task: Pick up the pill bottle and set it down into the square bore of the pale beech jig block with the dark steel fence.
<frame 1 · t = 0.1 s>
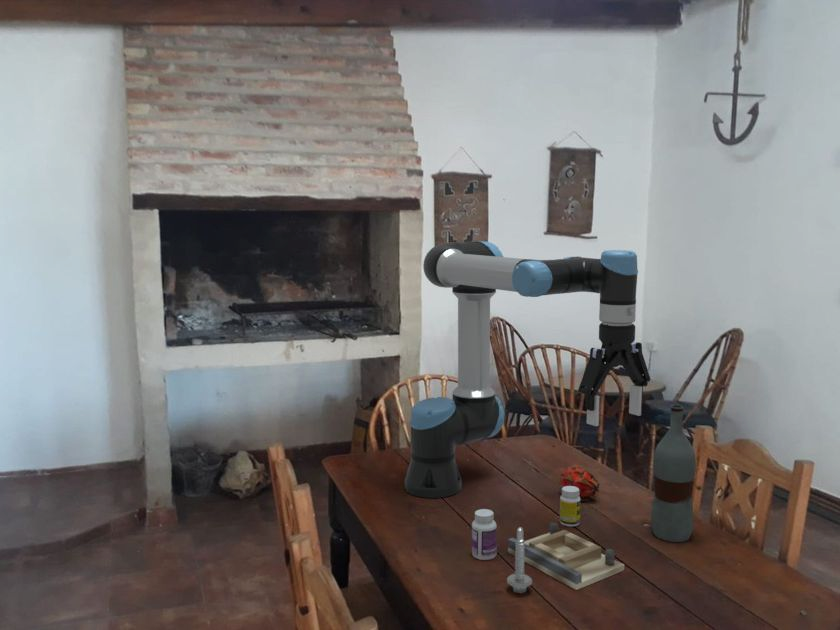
hand: (614, 419, 165), 28 cm above the table, fingers open, 13 cm apart
vodka: (671, 535, 172), on the table
dragon fruit: (579, 497, 195), on the table
supplement bottle: (569, 523, 179), on the table
screw: (519, 591, 148), on the table
pill bottle: (484, 556, 163), on the table
jig: (564, 560, 160), on the table
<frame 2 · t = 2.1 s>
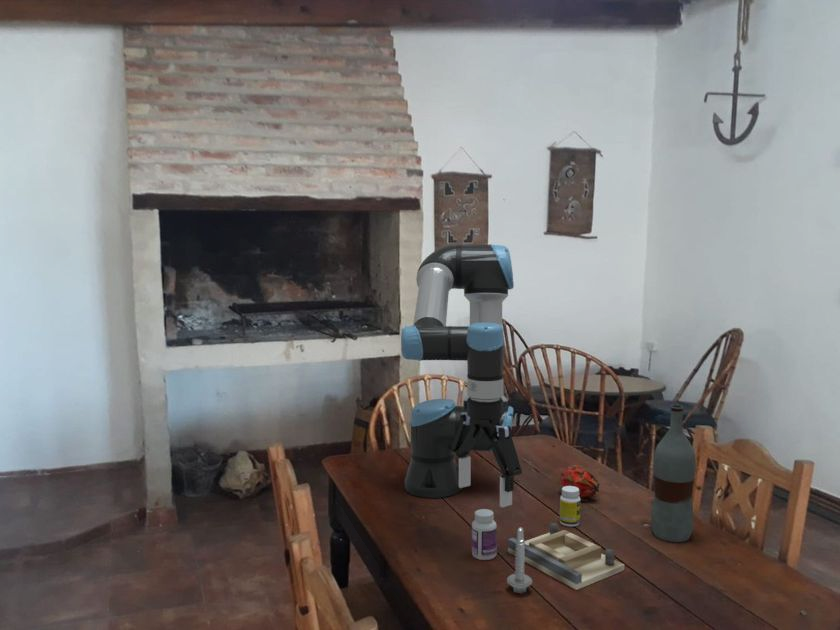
hand: (484, 495, 160), 13 cm above the table, fingers open, 13 cm apart
nothing on the table moved.
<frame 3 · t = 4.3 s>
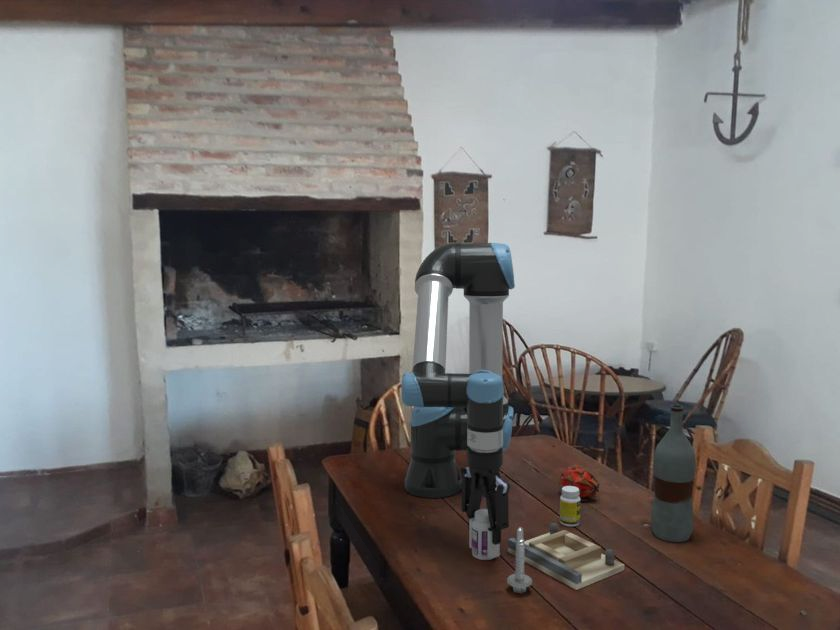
hand: (484, 551, 162), 1 cm above the table, fingers closed on pill bottle, 5 cm apart
pill bottle: (484, 555, 163), on the table, touching gripper
everything else where it was.
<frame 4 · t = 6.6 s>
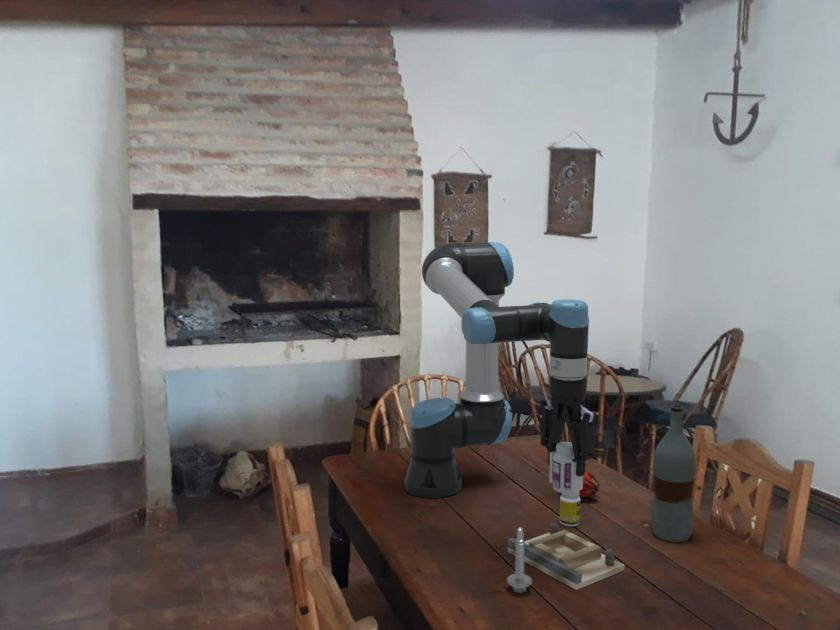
hand: (565, 485, 157), 17 cm above the table, fingers closed on pill bottle, 5 cm apart
pill bottle: (565, 490, 157), point 16 cm above the table, touching gripper
everything else where it was.
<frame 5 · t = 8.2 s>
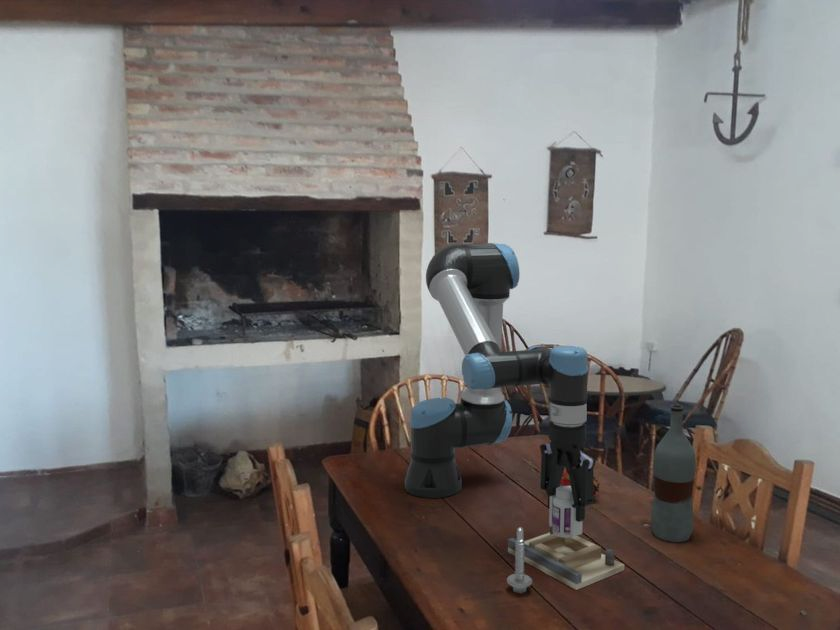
hand: (565, 529, 159), 7 cm above the table, fingers closed on pill bottle, 5 cm apart
pill bottle: (565, 534, 159), point 6 cm above the table, touching gripper
everything else where it was.
when the fingers open (5 cm above the table, at t = 9.4 s): pill bottle drops 3 cm, resting on jig.
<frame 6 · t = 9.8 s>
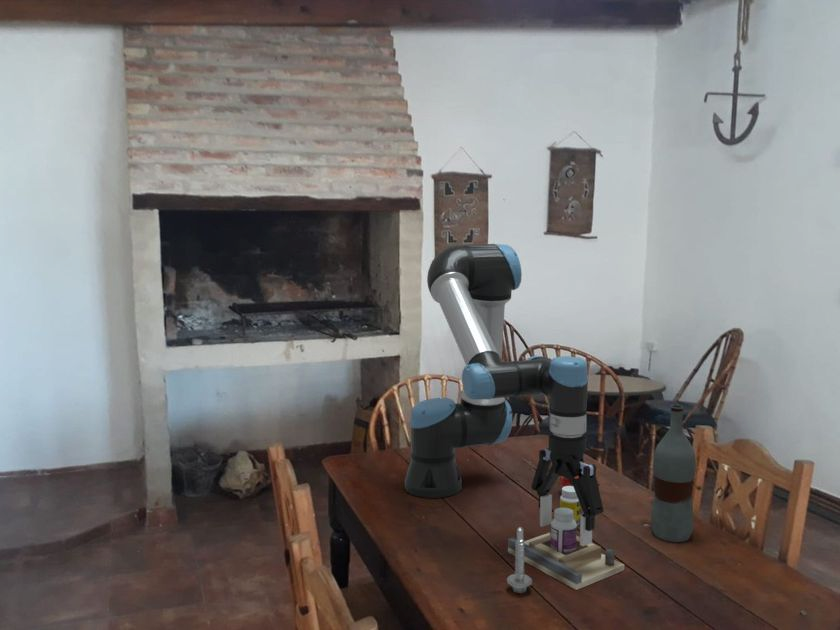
hand: (565, 534, 159), 6 cm above the table, fingers open, 11 cm apart
pill bottle: (563, 555, 160), point 1 cm above the table, touching jig
everything else where it was.
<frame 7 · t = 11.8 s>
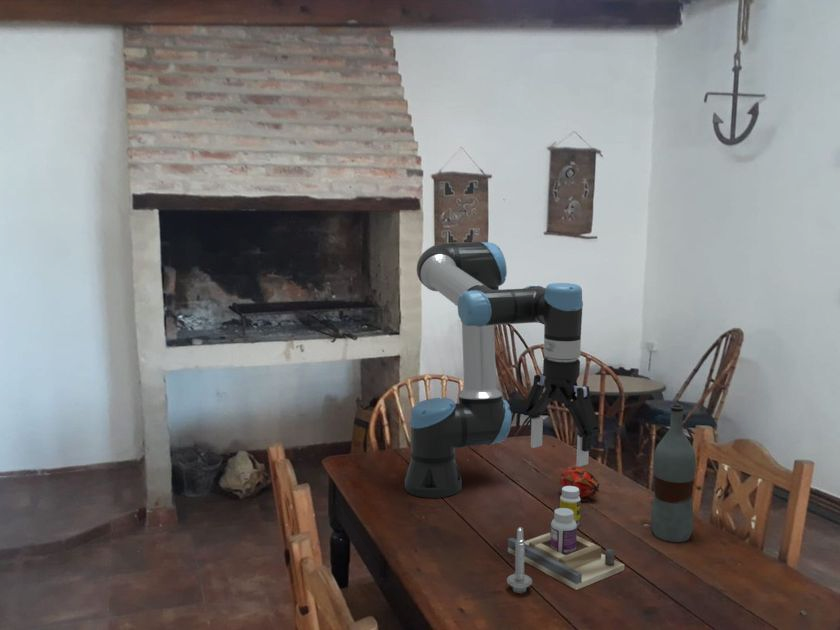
hand: (558, 455, 161), 21 cm above the table, fingers open, 13 cm apart
nothing on the table moved.
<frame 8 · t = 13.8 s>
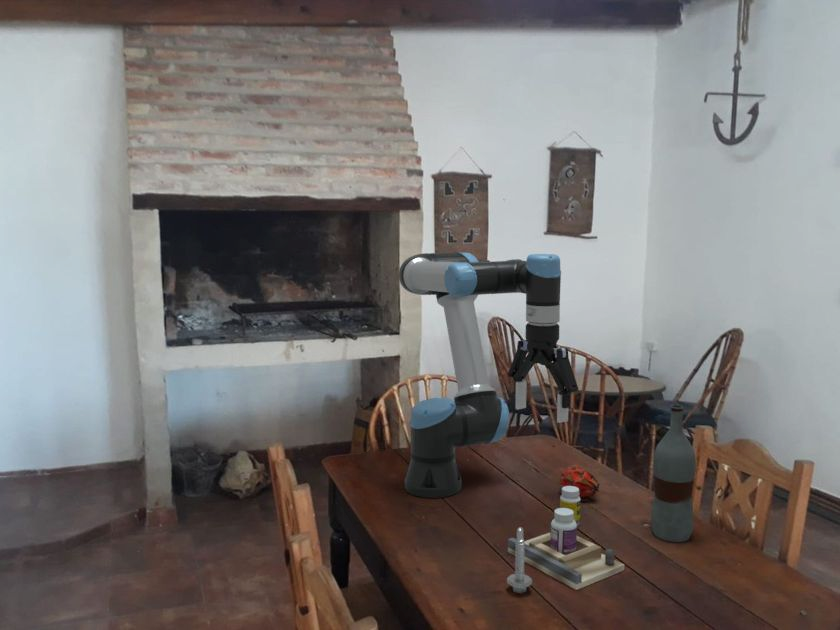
hand: (541, 415, 173), 27 cm above the table, fingers open, 13 cm apart
nothing on the table moved.
at the end: pill bottle 0.4 cm off-centre on the jig, point 1.0 cm above the jig's base; pill bottle tilted 0°; the gripper is holding nothing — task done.
